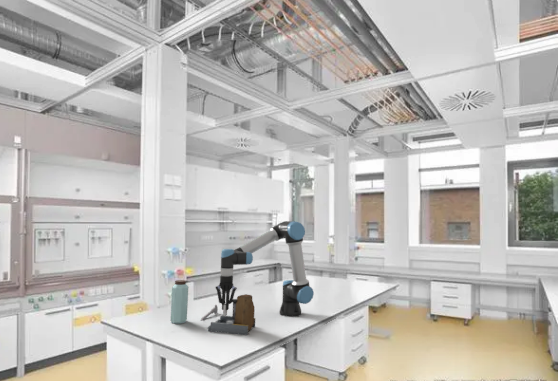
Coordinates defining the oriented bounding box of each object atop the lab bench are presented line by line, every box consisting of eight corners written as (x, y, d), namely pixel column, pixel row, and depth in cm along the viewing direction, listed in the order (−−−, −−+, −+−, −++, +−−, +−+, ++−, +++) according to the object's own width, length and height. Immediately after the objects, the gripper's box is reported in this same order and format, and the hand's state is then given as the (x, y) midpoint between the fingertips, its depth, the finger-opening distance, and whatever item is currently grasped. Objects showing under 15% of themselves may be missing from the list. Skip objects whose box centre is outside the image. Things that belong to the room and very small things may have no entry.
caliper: (216, 313, 250) (216, 304, 250) (217, 313, 250) (217, 304, 250) (200, 320, 231) (200, 310, 231) (201, 321, 230) (202, 310, 231)
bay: (255, 326, 220) (255, 318, 221) (247, 335, 204) (247, 325, 205) (218, 323, 225) (218, 314, 226) (207, 331, 209) (208, 321, 210)
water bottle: (190, 320, 230) (192, 280, 232) (180, 324, 220) (182, 282, 222) (176, 318, 233) (178, 279, 235) (166, 322, 223) (169, 281, 225)
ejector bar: (242, 324, 223) (243, 296, 224) (232, 333, 206) (233, 303, 207) (236, 324, 224) (237, 296, 225) (226, 332, 206) (227, 302, 208)
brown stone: (241, 333, 207) (243, 297, 208) (232, 330, 212) (234, 295, 213) (255, 329, 215) (257, 295, 216) (246, 326, 220) (248, 292, 221)
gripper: (239, 274, 221) (237, 314, 219) (218, 273, 223) (217, 313, 222) (234, 276, 213) (233, 318, 212) (214, 275, 216) (212, 316, 214)
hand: (224, 315), depth 217 cm, fingers closed
